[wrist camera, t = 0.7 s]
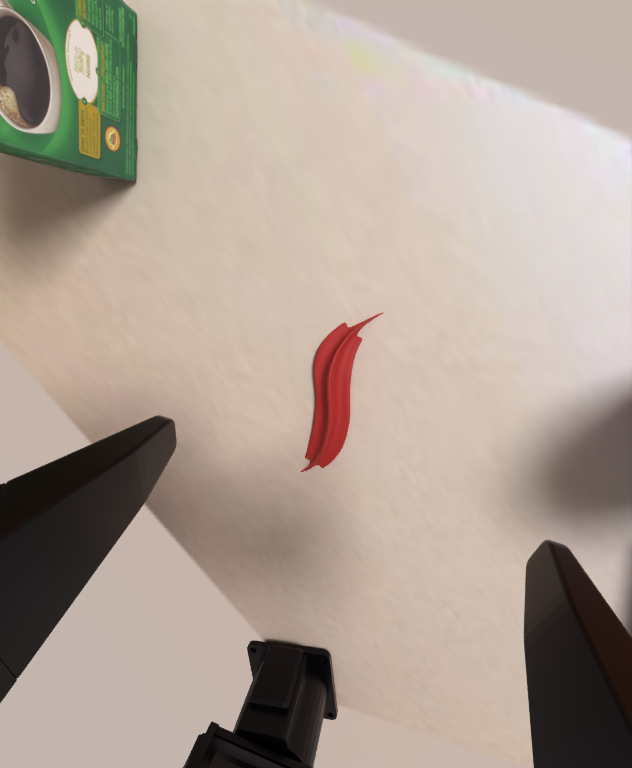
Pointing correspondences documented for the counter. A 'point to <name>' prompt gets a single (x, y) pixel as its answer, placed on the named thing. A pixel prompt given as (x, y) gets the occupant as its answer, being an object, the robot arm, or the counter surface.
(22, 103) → the coffee box
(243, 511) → the counter surface
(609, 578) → the counter surface
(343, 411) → the cayenne pepper
